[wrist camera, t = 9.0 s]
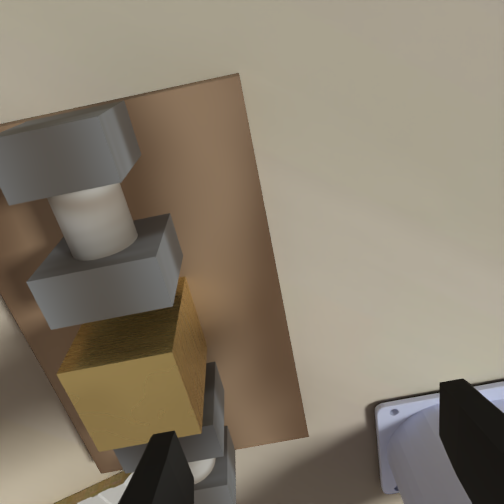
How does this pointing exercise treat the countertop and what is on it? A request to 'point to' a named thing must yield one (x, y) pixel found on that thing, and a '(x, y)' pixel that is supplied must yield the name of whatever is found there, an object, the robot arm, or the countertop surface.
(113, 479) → the baseboard molding
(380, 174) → the countertop surface
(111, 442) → the block
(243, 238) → the shaft base
